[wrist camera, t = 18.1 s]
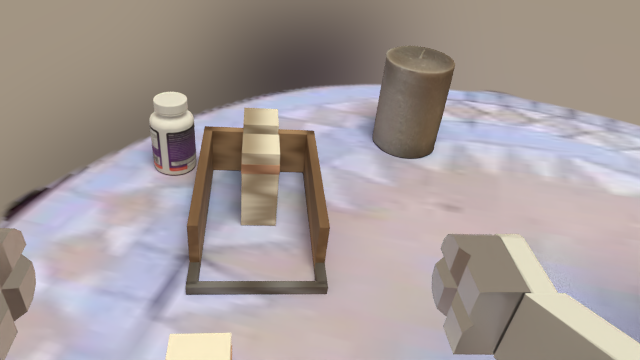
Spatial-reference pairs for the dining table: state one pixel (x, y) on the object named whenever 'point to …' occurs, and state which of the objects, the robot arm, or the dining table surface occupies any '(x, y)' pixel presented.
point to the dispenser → (258, 194)
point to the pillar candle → (412, 100)
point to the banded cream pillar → (199, 346)
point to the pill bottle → (172, 134)
